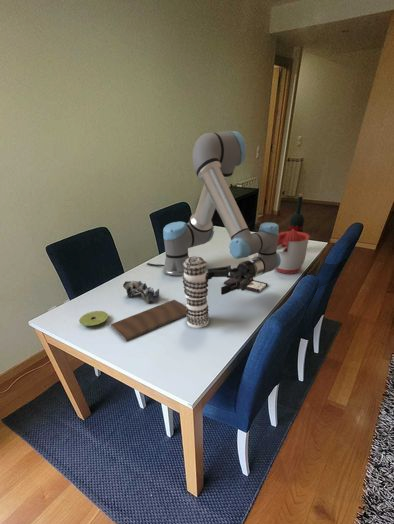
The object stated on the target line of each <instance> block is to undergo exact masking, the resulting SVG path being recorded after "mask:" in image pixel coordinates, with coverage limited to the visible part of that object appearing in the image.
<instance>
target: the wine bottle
mask: <svg viewBox="0 0 394 524" xmlns="http://www.w3.org/2000/svg"><path fill="white" fill-rule="evenodd" d="M303 195H304V193H299V194H298V196H297V201H296V202H297V203H296V209H295V213H293V214H292V215H291V216H290V218H289V223H288V230H287V231H291V230H292V229H294V230H295V231H296V232H303V229H304V224H305V223H304V222H305V216H304V215H303V214H302V213H301V210H302V203H303Z"/></svg>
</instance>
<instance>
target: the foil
mask: <svg viewBox="0 0 394 524" xmlns="http://www.w3.org/2000/svg"><path fill="white" fill-rule="evenodd" d="M122 287H123V289H125V290H126V294H127V295H126V297H127V298H132V297H133V296H135V295H136V294H139V293H140V297H141V298H142V300H143V301H144V302H145V303H147V304H150V303H151V299H152V298H155V297H159V296H160V288H157V290H156V291H155V289H154V287H152V286H149V287H148V286H147V284H146V282H144V283H143V282H142V281H141V280H139V281H137V280H136V281H135V280H130V281H129V280H128V281H126V280H125V282H124V283H123V285H122Z"/></svg>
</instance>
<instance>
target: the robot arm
mask: <svg viewBox="0 0 394 524" xmlns="http://www.w3.org/2000/svg"><path fill="white" fill-rule="evenodd" d="M246 156H247V145H246V140H245V138H244V137H243V135H242V134H241V133H240V132H239V131H236V130H227V131H215V132H206V133H204V134H202V135H200V136H199V137H198V139H196V142H195V144H194V145H193V150H192V165H193V169H194V172H195V174H196V177H197V178H198V180H199V181H202V183H203V187H202V189H201V192H200V196H199V199H198V203H197V206H196V209H195V212H194V213H192V214H191V215H190V217H189V221H188V222H187V223H186V222H185V221H173V222H170V223H168V224H166V225H165V226H164V227H163V228H162V229H163V230H162V235H163V236H162V239H163V243H164V252H165V262H164V264H161V263H160V264H159V263H158V264H155V263H151V262H150V263H149V262H147V263H146V265H148V266H152V267H163V272H164V274H165V275H166V276H167V275H168V276H172V277H183V275H184V265H183V263H184V262H185V261H186V259H188V258H190V257H189V256H190V255H189V249H190V248H193V247H197V246H203V245H205V244H207V243H209V242H210V241H212V239H213V237H214V234H215V230H214V229H215V227H214V224H213V221H212V220H213V216H214V214H215V211H217V214H218V216H219V218H220V219H221V221H222V223H223V226H224V228H225V230H226V232H227V234H228V236H229V238H230V240H231V241H230V242H229V244H228V249H229V253H230V255H231V257H232V258H234V259H236V260H241V259H244V258H249V257H250V256H252V255H255V254H257V256H255V257H251V258H250V259H247V260H244V261H241V262H240V263H238V265H237V266H236V267H232V265H231V264H229V265H226V266H218V267H212V268H207V272H206V273H207V274H208V275H209V276H208V278H206V279H207V280H208V281H209V280H212V278H227V279H229V278H234V279H237V284H236V282H233V283H231V284H228V285H227V284H225V285H223V286H221V287H220V295H222V296H224V295H225V294H228V293H230V292H234V291H236V290H241V291H242V292H243V291H245V290H246V287H247V286H248V285H249V283H250V282H252V281H253V280H254V278H257V277H259V276H262V275H264V274H267V273H269V272H272V271H274V270H276V268H277V267H278V266H279V265H280V262H281V259H280V255H279V254H278V253H277V252H276V250H277V242H278V236H279V234H278V233H280V232H279V231H280V226H279V224H278V223H276V222H271V221H270V222H263V223H261V224H260V225H259V228H258V231H256V232H251V231H250V228H249V227H248V225H247V222H246V220H245V218H244V216H243V214H242V211H241V210H240V208H239V206H238V204H237V201H236V200H235V197H234V195H233V192H232V191H231V189H230V187H229V184H228V183H227V180H228V178H231V177H232V176H233V174H234V172H235V169H236V167H238V166H240V165H242V164H243V163H244V161H245V159H246ZM242 280H243V282H242V284H241V281H242Z"/></svg>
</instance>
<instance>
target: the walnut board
mask: <svg viewBox="0 0 394 524" xmlns="http://www.w3.org/2000/svg"><path fill="white" fill-rule="evenodd" d="M186 315H187V313H186V305H185V304H183V303H181V302H179V301H178V300H176V299H172V300H169V301H166V302H164V303H162V304H159V305H156V306H153V307H151V308H148V309H146V310H144V311H141V312H139V313H136V314H134V315H130V316H128V317H126V318H123V319H120V320H117V321H115V322H112V323H110V327H111V328H112V329H113V330H114V331H115V332H116V333H117V334H118V335H119V336H120V337H121V338H122V339H123V340H124V341H125V342H128V341H130V340H133V339H135V338H138V337H140V336H142V335H144V334H146V333H149V332H152V331H153V330H156V329H158V328H161V327H163V326H165V325H168V324H170V323H172V322H174V321H177V320H179V319H182V318H184V317H187V316H186Z"/></svg>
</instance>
